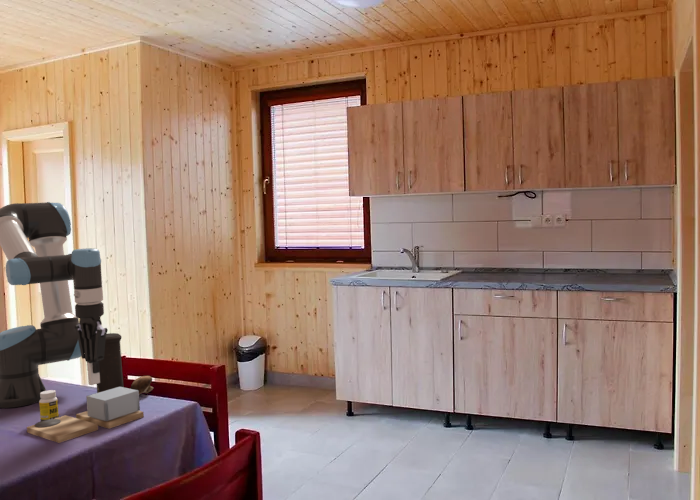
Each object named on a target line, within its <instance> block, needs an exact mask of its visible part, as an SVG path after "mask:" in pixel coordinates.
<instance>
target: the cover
mask: <svg viewBox="0 0 700 500" xmlns="http://www.w3.org/2000/svg"><path fill="white" fill-rule="evenodd" d="M140 404H141V403H140V395H139V391H138V390H134V389H131V388H128V387H117V388H113V389H110V390H106V391H103V392H99V393H97V392H96V393H93V394H90V395H86V411H88V416H89V417H93V418H96V419H100V420H104V421H109V420H112V419H115V418H118V417H121V416H124V415H127V414H130V413H133V412H136V411H141V407H140Z"/></svg>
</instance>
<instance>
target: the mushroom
mask: <svg viewBox="0 0 700 500" xmlns="http://www.w3.org/2000/svg"><path fill="white" fill-rule="evenodd" d="M152 381H153V378H152V376H150V375H143V376H139V377H137V378H135V379H134V380H133V382H132V384H131V386H130V389H134V390H138V391H139V396H140V395H141V394H149V393H150V392H151V391H153V389H154V388H155V387H153V386H151V383H152Z"/></svg>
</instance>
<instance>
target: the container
mask: <svg viewBox="0 0 700 500" xmlns="http://www.w3.org/2000/svg"><path fill="white" fill-rule="evenodd" d="M121 341H122V335H121V334H119V333H114V332H113V333H112V332H110V333H108V332H107V334H106V340H105V352H104V359H103V360H100V361H99V369H100V371H99V373H100V383H98V384H96V393H99V392H103V391H106V390H110V389H113V388H117V387H124V377H123V376H124V375H123V366H122V364H123V363H122V352H121V351H122V350H121ZM124 388H125V387H124Z"/></svg>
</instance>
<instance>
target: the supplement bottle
mask: <svg viewBox="0 0 700 500" xmlns="http://www.w3.org/2000/svg"><path fill="white" fill-rule="evenodd" d="M40 398H41V399H40V401H39V402H38V403H39V404H38V405H39V419H40V421H44V420H48V419H55V418H58V417H60V416H59V415H60V414H59V405H58V404H59V400H58V398H57V393H56V390H55V389H49V390H46V391H43V392H41V393H40Z"/></svg>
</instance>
